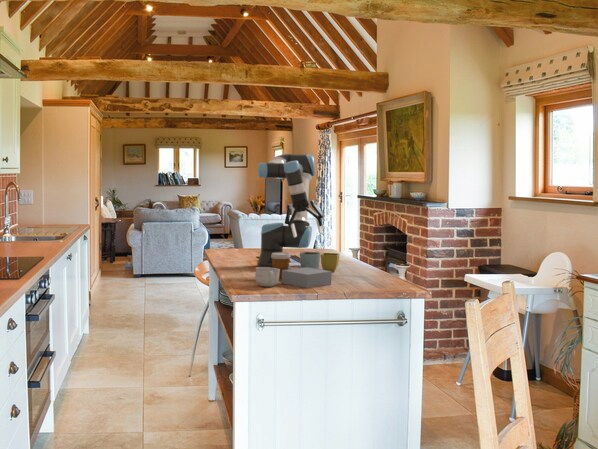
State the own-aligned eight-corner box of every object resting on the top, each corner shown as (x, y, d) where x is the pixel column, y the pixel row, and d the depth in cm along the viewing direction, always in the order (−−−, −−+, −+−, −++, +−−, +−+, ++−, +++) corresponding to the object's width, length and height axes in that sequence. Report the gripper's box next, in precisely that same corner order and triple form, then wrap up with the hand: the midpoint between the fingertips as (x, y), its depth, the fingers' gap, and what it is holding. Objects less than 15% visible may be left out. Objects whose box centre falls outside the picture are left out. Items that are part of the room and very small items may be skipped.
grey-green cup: (305, 279, 312) (305, 254, 311) (295, 276, 321) (296, 251, 320) (323, 278, 317) (324, 253, 316) (313, 275, 326) (314, 251, 325)
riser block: (281, 283, 299) (281, 270, 299) (305, 279, 311) (305, 267, 310) (307, 288, 288) (307, 274, 288) (331, 284, 300) (331, 271, 299)
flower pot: (336, 272, 335) (337, 255, 334) (319, 272, 337) (320, 254, 336) (339, 270, 344) (339, 253, 343) (322, 269, 345) (323, 252, 345)
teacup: (254, 283, 297) (255, 266, 296) (278, 283, 298) (279, 266, 297) (255, 289, 283) (255, 270, 282) (280, 289, 284) (281, 271, 283)
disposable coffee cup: (293, 277, 316) (293, 253, 315) (286, 280, 307) (286, 255, 306) (274, 276, 319) (275, 251, 318) (267, 279, 310) (267, 253, 309)
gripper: (271, 198, 319) (282, 240, 322) (319, 189, 309) (329, 232, 313) (277, 195, 326) (287, 236, 329) (324, 186, 316) (333, 229, 319)
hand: (308, 234), depth 321 cm, fingers open, 13 cm apart
